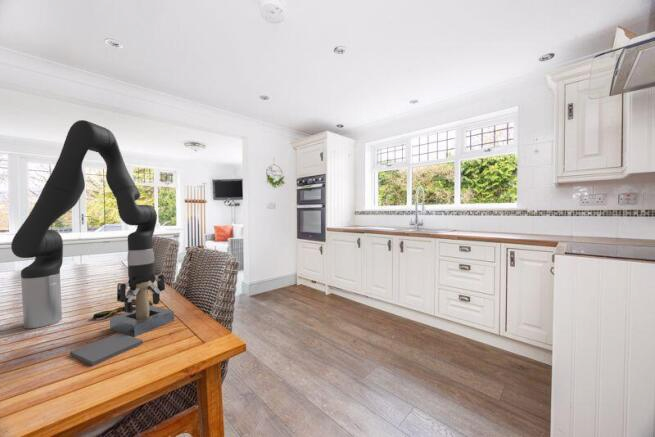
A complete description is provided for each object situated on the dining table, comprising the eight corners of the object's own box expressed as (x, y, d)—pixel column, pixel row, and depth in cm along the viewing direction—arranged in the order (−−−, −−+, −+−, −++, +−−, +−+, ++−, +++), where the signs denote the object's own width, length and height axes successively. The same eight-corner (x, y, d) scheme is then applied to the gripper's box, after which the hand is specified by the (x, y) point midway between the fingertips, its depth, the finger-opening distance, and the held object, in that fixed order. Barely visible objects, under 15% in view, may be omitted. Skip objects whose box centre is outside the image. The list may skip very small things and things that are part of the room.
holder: (110, 328, 87) (109, 318, 87) (150, 314, 99) (149, 305, 99) (134, 336, 81) (134, 325, 81) (174, 320, 93) (173, 310, 93)
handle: (136, 329, 86) (135, 285, 86) (132, 323, 91) (131, 281, 90) (153, 324, 90) (152, 282, 89) (149, 319, 94) (147, 278, 94)
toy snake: (91, 308, 93) (98, 302, 102) (91, 321, 93) (98, 314, 101) (151, 300, 102) (153, 295, 111) (151, 312, 102) (153, 306, 111)
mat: (70, 355, 71) (70, 351, 71) (120, 335, 82) (119, 332, 82) (92, 365, 66) (92, 361, 66) (142, 343, 77) (142, 340, 77)
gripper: (155, 257, 97) (157, 300, 98) (111, 265, 85) (113, 314, 85) (168, 259, 94) (169, 302, 95) (124, 267, 81) (126, 317, 82)
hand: (143, 308), depth 90 cm, fingers open, 8 cm apart
